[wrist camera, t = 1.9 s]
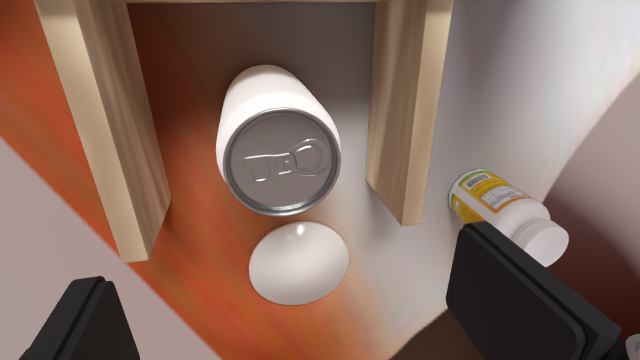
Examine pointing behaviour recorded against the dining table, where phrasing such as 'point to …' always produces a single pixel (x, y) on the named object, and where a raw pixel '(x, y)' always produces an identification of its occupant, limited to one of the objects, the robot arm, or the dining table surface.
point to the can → (276, 143)
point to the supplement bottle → (508, 214)
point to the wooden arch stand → (140, 134)
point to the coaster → (298, 263)
